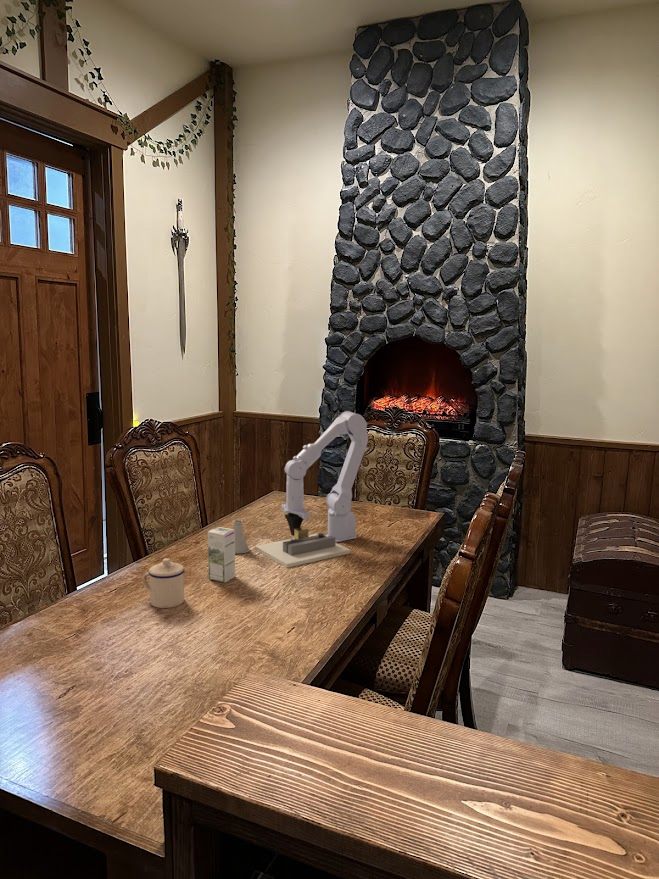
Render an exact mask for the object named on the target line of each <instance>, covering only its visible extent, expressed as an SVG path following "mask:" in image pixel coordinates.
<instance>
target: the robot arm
mask: <svg viewBox="0 0 659 879" xmlns="http://www.w3.org/2000/svg"><path fill="white" fill-rule="evenodd" d="M367 427H368V423H367V420H365V418H364V417H363V416H362V415H361V414H359V413H356V412H355V413H354V412H352V411H349V410H346V411H343V412H341V414H340V415H339V416H338V417H336V418H335V419H334V421H333V422H332V423H331V424H330V425H329V427H328V428H326V429H325V431H324V432H323V433H322V434H321V435H320V436H319V438H317V440H316V441H315V442H314V443H308V444H304V445H303V446H302V450H301V451H300V452H298V454H297V455H294V456H293V457H292V460H291V459H290V460H288V461H287V462H286V464H285V467H284V468H283V470H284V473H285V474H286V483H285V484H286V487H285V488H286V495H285V496H286V503H281V506H280V507H281V510H282V511H283V512H284V513H285V514H284V518H285V520H286V521H287V523H288V527H289V530H290V534H291V536H293V537H294V529H296V528H301V527H302V523H303V522H304V520H309V519H310V512H308V511H307V510H306V509H305V507H304V477H305V476H306V474H307V471H308V469H309V468H310V467H312V465H313V464H315V462H316V461H318V459H320V457H321V456H322V450H324V448H325V447H326V446H328V445H329V444H330V443H331V442H332V441H334V439H335V438H337V437H338V436H339V435H346V434H347V435H348V437H349V438H350V440H351V442H350V446H349V448H348V449H347V450H348V451H347V453H346V457H345V459H344V462H343V466H342V468H341V471H340V472H339V476H338V479H337V483H336V484H334V486H332V488H331V490H330V493H328V494H327V496H326V498H325V503H326V506H327V507H328V510H327V534H324V535H325V536H326V537H328V536H333V537H336V543H339V542H343V541H348V540H354V539H357V538H358V536H357V534H356V533H357V531H356V530H357V529H356V528H357V520H356V515H355V514H354V512H353V511H351V509H352V500H353V499H352V498H353V490H352V488H353V485H354V483H355V479H356V477H357V474H358V472H359V468H360V466H361V462H362V460H363V457H364V454H365V451H366V448H367V445H368V443H369V442H368V441H369V435H368V430H367Z"/></svg>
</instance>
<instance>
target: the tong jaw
mask: <svg viewBox="0 0 659 879" xmlns="http://www.w3.org/2000/svg"><path fill="white" fill-rule="evenodd" d="M325 535H326V534H324V533H322V532H321V533H320V532H319V533H318V534H317V535H316V536H311V537H306V538H301V539H296V540H291V541H286V542H283V551H284V552H285V553H288V545H289V544H293V543H298V542H303V541H308V540H313V539H318V538H323V537H326V536H325Z"/></svg>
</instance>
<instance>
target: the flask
mask: <svg viewBox="0 0 659 879" xmlns="http://www.w3.org/2000/svg"><path fill="white" fill-rule="evenodd" d="M232 522H233V529H234V530H235V555H237V554H245V553H248V552H249V551H250V549H249V546H248V542H247V540H246V537H245V535H244V530H243V523H244V521H243V520H242V519H234V520H233V521H232Z"/></svg>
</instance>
